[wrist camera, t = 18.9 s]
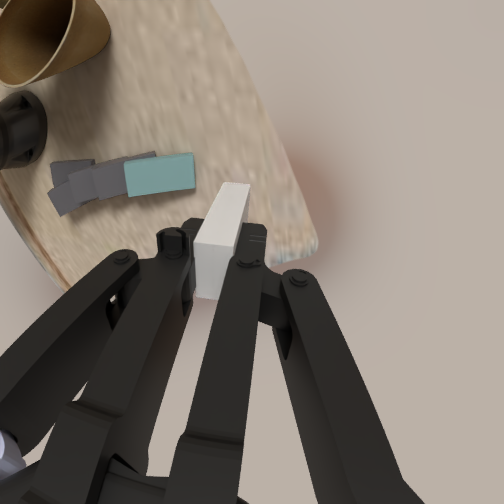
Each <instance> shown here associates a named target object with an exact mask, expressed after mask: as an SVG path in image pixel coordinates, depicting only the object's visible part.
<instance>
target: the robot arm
mask: <svg viewBox="0 0 504 504" xmlns="http://www.w3.org/2000/svg"><path fill="white" fill-rule="evenodd" d="M46 136H47V121H46V115H45V111H44V108H43V106H42V104H41V102H40V100H39V99H38V97H37V96H36V95H35V94H33V93H32V92H29V91H20V92H16V93H13V94H11V95H9V96H7V97H6V98H5V99H3V100H2V101H1V102H0V170H1V169H11V168H21V167H24V166H27V165H29V164H30V163H32V162H34V161H35V160H36V159H37V158H38V157H39V156H40V154H41V153H42V151H43V148H44V145H45V142H46ZM250 185H251V184H241V183H231V182H224V183H223V185H222V187H221V189H220V191H219V192H218V194H217V196H216V198H215V200H214V202H213V204H212V206H211V208H210V210H209V212H208V214H207V216H206V218H205V219H199V218H190V219H188V220H187V221H185V222H184V223H183V225H182V227H181V228H178V227H170V228H165V229H163V230H160V231H159V232H158V233H157V234H156V237H157V246H158V253H157V255H156V256H155V258H149V259H138V255H137V253H136V252H134V251H133V250H128V249H124V250H123V249H122V250H118V251H115V252H113V253H112V254H110V255H109V256H108V257H106V258H105V259H104V260H103V261H102V262H100V263H99V264H98V265H97V266H96V267H94V268H93V269H92V270H91V271H90V272H89V273H87V274H86V275H85V276H84V277H83V278H82V279H80V280H79V281H78V282H77V283H76V284H75V285H74V286H73V287H71V288H70V289H69V290H68V291H67V292H66V293H65V294H64V295H62V296H61V297H60V298H59V299H58V300H57V301H56V302H55V303H54V304H53V305H52V306H51V307H50V308H49V309H47V310H46V311H45V312H44V314H42V315H41V316H40V317H39V318H38V319H37V320H36V321H35V322H34V323H33V324H32V325H31V326H30V327H29V328H28V329H27V330H26V331H25V332H24V333H23V334H22V335H21V336H20V337H19V338H18V339H17V340H16V341H15V342H14V343H13V344H12V345H11V346H10V347H9V348H8V349H7V350H6V351H5V352H4V354H3V355H2V356H1V357H0V504H249V503H247V502H246V501H245V500H243V499H241V498H240V497H238V496H237V495H238V487H239V479H240V472H241V464H242V456H243V447H244V436H245V429H246V420H247V412H248V403H249V395H250V387H251V379H252V369H253V361H254V353H255V344H256V335H257V326H258V321H259V322H262V323H264V324H267V325H270V326H272V331H273V335H274V339H275V342H276V346H277V350H278V354H279V358H280V362H281V365H282V369H283V373H284V376H285V381H286V385H287V388H288V392H289V396H290V400H291V403H292V407H293V411H294V415H295V419H296V423H297V427H298V430H299V434H300V438H301V442H302V446H303V450H304V453H305V457H306V461H307V465H308V468H309V472H310V476H311V480H312V484H313V488H314V492H315V495H316V498H317V501H318V504H424V502H423V501H422V500H421V499H420V498H419V497H418V496H417V494H416V493H415V492H414V491H413V490H412V489H411V488H410V487H409V486H408V484H407V483H406V482H405V481H404V480H403V478H402V475H401V473H400V470H399V467H398V465H397V462H396V459H395V457H394V454H393V451H392V449H391V446H390V444H389V441H388V439H387V436H386V434H385V431H384V429H383V426H382V424H381V421H380V419H379V417H378V414H377V412H376V410H375V407H374V404H373V402H372V400H371V397H370V395H369V393H368V390H367V388H366V386H365V383H364V381H363V379H362V377H361V374H360V372H359V370H358V367H357V365H356V363H355V361H354V358H353V356H352V354H351V352H350V349H349V347H348V345H347V343H346V341H345V338H344V336H343V334H342V332H341V330H340V328H339V325H338V324H337V321H336V319H335V317H334V315H333V313H332V311H331V308H330V306H329V305H328V302H327V300H326V298H325V296H324V294H323V292H322V290H321V288H320V286H319V284H318V281H317V279H316V278H315V277H314V276H313V275H312V274H310V273H309V272H307V271H304V270H301V269H292V270H287V271H286V272H284V273H283V275H280V274H278V273H275V272H273V271H271V270H270V269H269V268H268V267H267V266H266V265H265V262H264V257H265V247H266V237H267V229H266V228H265V226H264V225H263V224H254V223H247V222H248V210H249V197H250ZM194 290H196V297H199V298H207V299H214V300H218V304H217V308H216V312H215V315H214V319H213V323H212V326H211V330H210V334H209V338H208V342H207V346H206V350H205V353H204V357H203V361H202V365H201V369H200V374H199V377H198V381H197V385H196V389H195V393H194V397H193V401H192V406H191V409H190V413H189V418H188V422H187V426H186V429H185V432H184V433H183V434H182V435H181V436H180V438H179V440H178V443H177V446H176V450H175V454H174V458H173V463H172V467H171V471H170V475H169V477H153V476H146V473H147V468H148V460H149V458H148V447H149V443H150V440H151V436H152V433H153V429H154V426H155V422H156V419H157V416H158V412H159V409H160V406H161V402H162V399H163V396H164V392H165V389H166V386H167V383H168V379H169V377H170V373H171V370H172V367H173V364H174V361H175V357H176V355H177V351H178V348H179V345H180V342H181V339H182V336H183V333H184V330H185V327H186V324H187V321H188V318H189V316H190V312H191V309H192V306H193V293H194ZM114 295H115V298H116V299H115V300H114V301H112V302H111V301H110V299H111V298H112V297H113V296H114ZM87 381H88V382H87ZM86 382H87V384H86ZM85 384H86V386H85V388H84V390H83V393H82V395H81V397H80V398H79V399H78V400H77V401H72V400H73V399H74V397H75V396H76V395H77V394H78V392H79V391H80V390H81V389H82V387H83V386H84V385H85ZM55 422H56V423H55ZM54 423H55V425H54ZM53 425H54V427H53V430H52V432H51V434H50V437H49V439H48V442H47V444H46V446H45V449H44V451H43V454H42V457H41V459H40V460H38V461H37V462H35V463H33V464H31V465H29V466H27V467H26V463H25V460H24V459H23V458H22V457H23V456H25V455H26V454H28V453H29V452H30V451H31V450H32V449H34V448H35V447H36V446H37V445H38V444H39V442H40V441H41V440H42V439H43V438H44V436H45V435H46V434H47V433H48V431H49V430H50V429H51V427H52V426H53Z"/></svg>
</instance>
